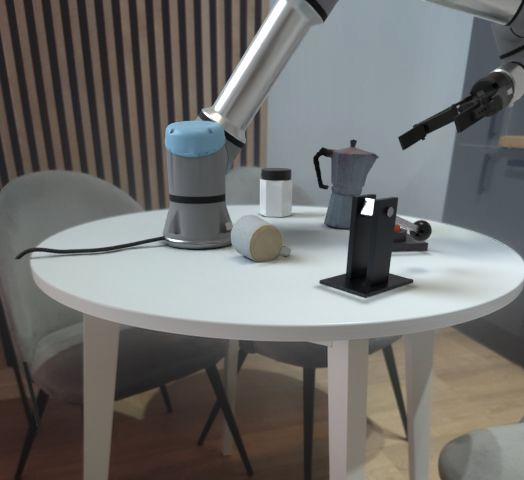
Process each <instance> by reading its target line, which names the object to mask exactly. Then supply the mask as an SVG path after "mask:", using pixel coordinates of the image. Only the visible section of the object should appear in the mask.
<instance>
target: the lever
mask: <svg viewBox="0 0 524 480" xmlns="http://www.w3.org/2000/svg"><path fill="white" fill-rule="evenodd" d="M373 207H374V199H370V198H365V201H364V204H363V207H362V211H361V214H362V215H364V216H366V217H368V218H371V219H372V217H373ZM395 224H397V225H399V226H400V227H401V228H404V229H406V230H408V232H409V233H408V234H410V237H411V238H412V239H413V240H414V241H416V242H424V241H425V242H427V241H428V240H429V239H430V238H431V236H432V232H433V229H432V225H431V224H430V223H429V222H428V221H427V220H425V219H418V220H416V221H414V222H411V221H409V220H407V219H405V218H403V217H401V216H399V215H397V214H396V221H395Z"/></svg>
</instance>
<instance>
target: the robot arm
mask: <svg viewBox="0 0 524 480" xmlns="http://www.w3.org/2000/svg"><path fill="white" fill-rule="evenodd" d="M339 1H340V0H276V1H275V2H274V4H273V6H272V7H271V9H270V11H269V12H268V13H267V15H266V17H265V19H264V20H263V22H262V24H261V25H260V27H259V29H258V30H257V31H256V33H255V35H254V37H253V39H252V40H251V41H250V43H249V45H248V46H247V49H246V50H245V52H244V54H243V55H242V57H241V58H240V60H239V61H238V64H237V65H236V67H235V68H234V70H233V71H232V73H231V75H230V77H229V79H228V80H227V81H226V83H225V84H224V86H223V88H222V90H221V92H220V93H219V95H218V96H217V98H216V99H215V101H214V103H213V105H212V106H210V107H204V108H201V110H200V112H199V114H198V115H197V117H196V118H195V120H183V121H176V122H172V123H170V124H168V125H167V126H166V128H165V131H164V132H165V133H164V135H165V136H164V137H165V139H164V146H165V152H166V153H165V154H166V155H165V156H166V169H167V171H166V172H167V187H168V199H169V205H168V210H167V214H166V218H165V223H164V227H163V229H162V230H163V231H162V236H157V237H151V238H147V239H142V240H137V241H133V242H128V243H122V244H117V245H111V246H105V247H94V248H72V249H71V248H69V249H58V248H48V247H37V246H36V247H29V248H26V249H24V250H22V251H20V252H19V253H18V254H17V255H16V256H15V257H14V260H21V259H22V258H23V257H24V256H27V255H28V254H32V253H48V254H57V255H69V254H70V255H71V254H90V253H92V254H93V253H102V252H103V253H104V252H110V251H111V252H112V251H116V250H117V251H118V250H122V249H127V248H131V247H136V246H137V247H138V246H141V245H146V244H151V243H156V242H161V241H163V243H164V245H167V246H169V247H173V248H177V249H179V248H180V249H191V250H203V249H216V248H223V247H227V246H230V245H232V243H231V230H232V228H233V226H234V224H233V221H232V219H231V217H230V212H229V209H228V207H227V200H226V193H227V191H226V176H227V174H228V173H229V172H230V171H231V169H232V167H233V164H234V162H235V160H236V159H237V157H238V156H239V155H240V153H241V151H242V150H243V148H244V146H245V145H246V143H247V139H246V135H245V134H246V130H247V129H248V127H249V125H250V124H251V123H252V121H253V120H254V118H255V117H256V115H257V113H258V112H259V110H260V108H261V107H262V106H263V104H264V102H265V101H266V99H267V98H268V96H269V95H270V93H271V91H272V90H273V89H274V87H275V85H276V83H277V82H278V81H279V80H280V78H281V76H282V75H283V73H284V72H285V70H286V68H287V67H288V65H289V63H290V62H291V60H292V59H293V57H294V56H295V54H296V53H297V51H298V49H299V48H300V47H301V45H302V43H303V42H304V40H305V39H306V37H307V36H308V34H309V32H310V31H311V30H312V29H313V28H317V27H322V26H323V25H324V23H325V22H326V21H327V19H328V17H329V16H330V14H331V13H332V12H333V10H334V8H335V6H336V5H337V4H338V2H339ZM419 2H423V3H428V4H431V5H434V6H437V7H441V8H445V9H448V10H451V11H455V12H457V13H461V14H464V15H469V16H471V17H475V18H478V19H482V20H485V21H488V23H489V25H490V28H491V31H492V34H493V39H494V41H495V45H496V49H497V52H498V57H499V60H500V64H501V65H500V66H498V67H497V68H495V69H493V70H492V71H490V72H489V73H487V74H486V75H484V76H482V77H481V78H479V79H477V81H476V82H474V84H473V85H472V86H471V88H470V92H469V94H468V95H467V96H464V97H463V98H462V99H461V100H459V101H457V102H455V103H452V104H451V105H450V106H448V107H446V108H444V109H443V110H441V111H439V112H437V113H434V114H433V115H431V116H429V117H427V118H426V119H424V120H422V121H419V122H418V123H415V124H413V125H412V128H410V129H409V130H407V131H405V132H404V133H402V134H401V135H399V136H397V139H398V141H399V145H400V148H401V150H402V151H405V150H408V149H409V148H410V147H412V146H413V145H415V144H416V143H418V142H420V141H425V140H426V137H427V135H429V134H431V133H433V132H435V131H437V130H439V129H441V128H444V127H445V126H448V125H450V124H452V123H454V125H455V129H456V132H457V134H459V133H462V132H464V131H465V130H467V129H468V128H471V126H473V125H475V124H476V123H477V122H479V121H481V120H482V119H484V118H490V117H491V118H492V117H494V116H496V115H497V114H499V113H500V112H502V111H503V110H506V108H513V107H514V103H515V102H517V101H518V100H520V99H521V98H523V97H524V0H419ZM21 363H22V367H23V372H24V375H25V379H26V383H27V387H28V388H27V389H28V392H29V397H30V400H31V405H32V408H33V414H34V418H35V424H36V428H40V427H42V424H41V419H40V414H39V408H38V404H37V399H36V395H35V391H34V386H33V382H32V378H31V374H30V369H29V366H28V365H29V364H28V361H21Z"/></svg>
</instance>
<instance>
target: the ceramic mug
mask: <svg viewBox="0 0 524 480" xmlns="http://www.w3.org/2000/svg"><path fill="white" fill-rule="evenodd" d="M231 243H232V244H231V245H232V248H233V250H235V252H237V253H238V254H240V255H242V256H243V257H246V258H248V259H250V260H252V261H253V262H256V263H264V262H268V261H269V262H270V261H273V260H276V258H277V257H278V256H279V255H280V256H283V257H285V258H287V257H290V255H291V253H292V249H291V248H289V247H287V246H284V239H283V235H282V232H281V231H280V230H279V229H278V227H277V226H275V224H273V223H271V222H269V221H267V220H265V219H263V218H261V217H259V216H258V215H256V214H245V215H243V216H241V217H239V218H238V219H237V220H236V221H235V222H234V224H233V228H232V230H231Z"/></svg>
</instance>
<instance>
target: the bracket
mask: <svg viewBox="0 0 524 480" xmlns="http://www.w3.org/2000/svg"><path fill="white" fill-rule="evenodd" d="M365 198H370V199H374V207H373V217H372V219H371V218H368V217H366V216H364V215H362V214H361V211H362V207H363V204H364V201H365ZM398 204H399V197H397V196H390V197H389V196H388V197H381V198H377V194H375V193H366V194H361V195H357V196H352V208H351V220H350V229H349V232H348V233H349V234H348V245H347V258H346V267H345V273H342V274H338V275H335V276H331V277H330V276H329V277H326V278H323V279H319V282H318V283H319V284H320V285H323V286H326V287H329V288H332V289H335V290H339V291H341V292H344V293H348V294H351V295H354V296H357V297H360V298H362V299H366V298H369V297H372V296H376V295H379V294H381V293H385V292H389V291H392V290H394V289H397V288H401V287H404V286H407V285H411V284H413V283H414V279H413V278H409V277H406V276H401V275H398V274H394V273H390V272H391V271H390V270H391V261H392V253H393V252H392V246H393V238H394V230H395V221H396V215H397V213H398V206H399V205H398Z"/></svg>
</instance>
